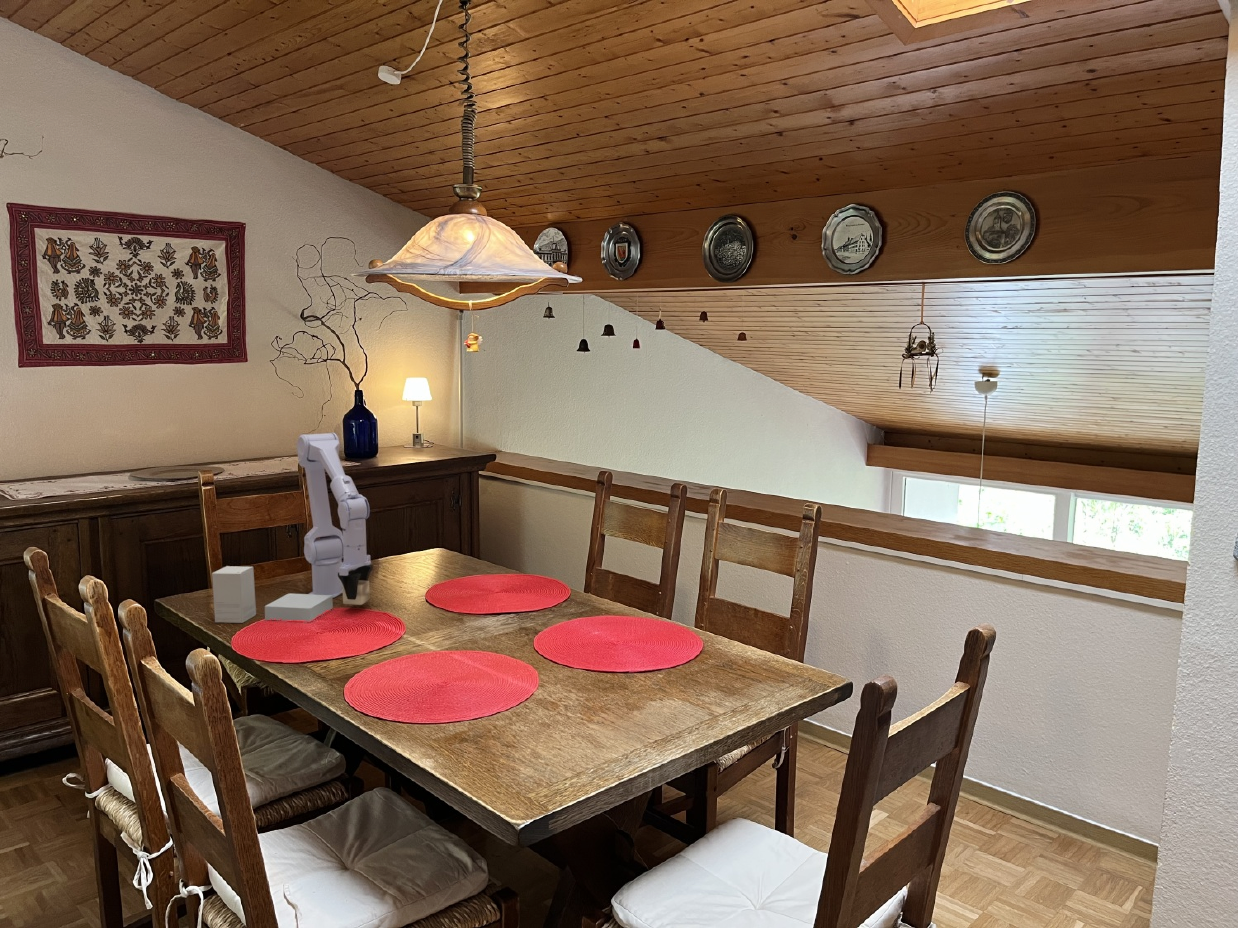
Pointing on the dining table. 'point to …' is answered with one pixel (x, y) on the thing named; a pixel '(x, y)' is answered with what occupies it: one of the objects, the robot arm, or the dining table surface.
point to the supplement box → (234, 594)
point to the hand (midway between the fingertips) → (356, 596)
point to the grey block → (298, 607)
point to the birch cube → (358, 594)
